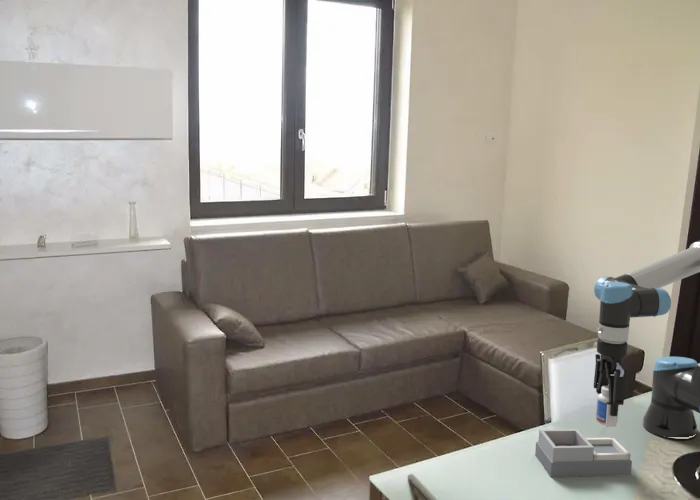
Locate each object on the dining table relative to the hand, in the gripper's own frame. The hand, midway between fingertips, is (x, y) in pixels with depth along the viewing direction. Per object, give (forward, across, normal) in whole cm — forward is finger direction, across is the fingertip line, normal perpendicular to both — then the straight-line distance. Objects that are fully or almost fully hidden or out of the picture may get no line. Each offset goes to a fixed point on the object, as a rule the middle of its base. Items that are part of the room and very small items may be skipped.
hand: (605, 420), depth 174 cm
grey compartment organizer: (+13, 0, -6) cm, 14 cm away
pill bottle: (+1, 0, 0) cm, 1 cm away
